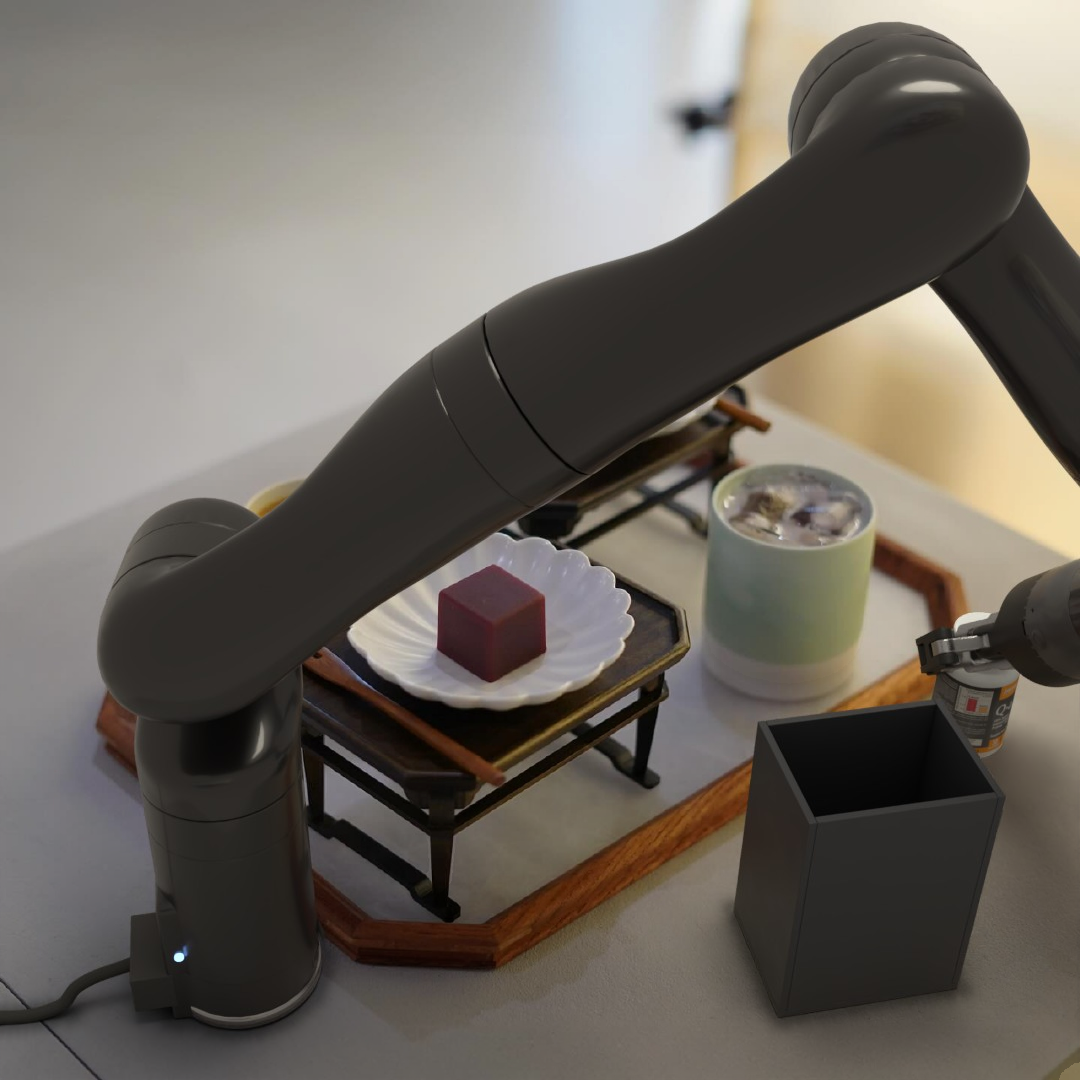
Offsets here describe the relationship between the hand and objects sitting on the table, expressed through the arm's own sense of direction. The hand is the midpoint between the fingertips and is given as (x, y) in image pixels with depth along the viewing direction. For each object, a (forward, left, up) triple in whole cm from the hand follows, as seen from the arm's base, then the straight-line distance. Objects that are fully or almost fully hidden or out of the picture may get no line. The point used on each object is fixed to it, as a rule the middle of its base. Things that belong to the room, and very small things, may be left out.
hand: (968, 656), depth 112 cm
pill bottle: (0, -2, -6) cm, 7 cm away
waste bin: (-16, -18, -8) cm, 25 cm away
